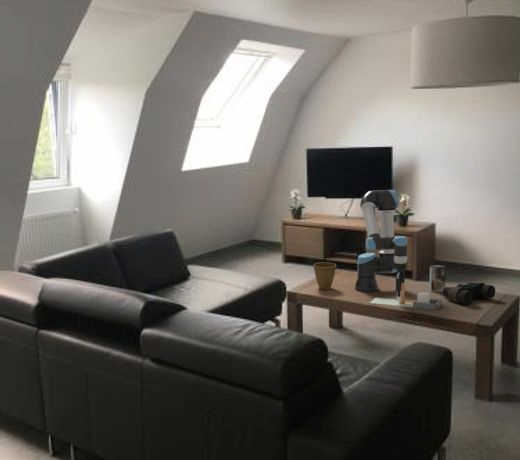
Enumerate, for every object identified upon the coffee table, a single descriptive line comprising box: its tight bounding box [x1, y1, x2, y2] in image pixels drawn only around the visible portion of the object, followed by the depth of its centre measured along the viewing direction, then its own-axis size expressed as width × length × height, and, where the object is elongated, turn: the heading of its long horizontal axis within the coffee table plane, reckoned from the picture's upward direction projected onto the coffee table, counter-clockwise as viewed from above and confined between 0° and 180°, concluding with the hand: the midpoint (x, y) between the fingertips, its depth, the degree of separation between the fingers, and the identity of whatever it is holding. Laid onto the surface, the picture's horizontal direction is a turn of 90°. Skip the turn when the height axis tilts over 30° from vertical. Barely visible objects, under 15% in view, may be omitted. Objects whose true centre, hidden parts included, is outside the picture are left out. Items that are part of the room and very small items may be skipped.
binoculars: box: [442, 281, 496, 305], centre depth 375 cm, size 29×20×10 cm
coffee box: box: [428, 264, 446, 293], centre depth 397 cm, size 9×6×16 cm
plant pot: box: [313, 261, 337, 290], centre depth 409 cm, size 15×15×16 cm
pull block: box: [399, 282, 431, 304], centre depth 366 cm, size 18×6×12 cm, turn 64°
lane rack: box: [369, 297, 442, 311], centre depth 368 cm, size 40×12×4 cm, turn 63°
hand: (399, 300), depth 370 cm, fingers closed on pull block, 4 cm apart
